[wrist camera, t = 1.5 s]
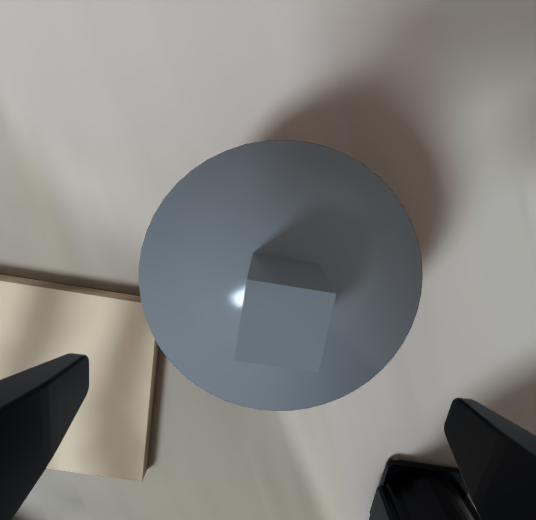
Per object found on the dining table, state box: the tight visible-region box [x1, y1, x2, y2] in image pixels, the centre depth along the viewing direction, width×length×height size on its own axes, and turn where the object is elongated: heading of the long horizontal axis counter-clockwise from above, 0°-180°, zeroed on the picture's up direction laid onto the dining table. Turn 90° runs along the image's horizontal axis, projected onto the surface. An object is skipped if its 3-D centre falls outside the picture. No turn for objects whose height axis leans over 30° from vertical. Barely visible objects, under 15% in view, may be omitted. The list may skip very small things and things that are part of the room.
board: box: [0, 274, 159, 481], centre depth 22 cm, size 16×14×1 cm
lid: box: [139, 140, 422, 411], centre depth 13 cm, size 13×13×5 cm
